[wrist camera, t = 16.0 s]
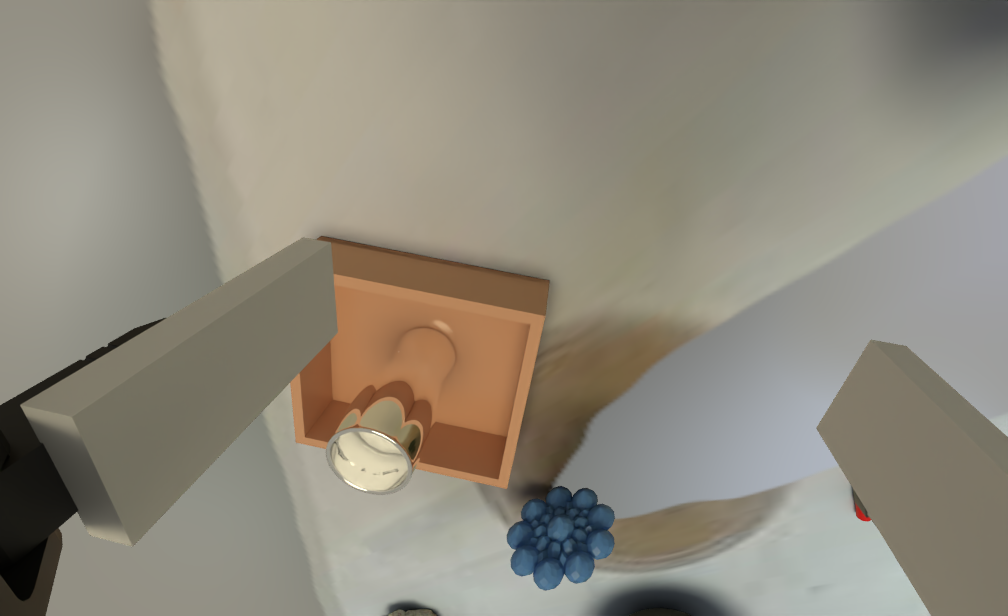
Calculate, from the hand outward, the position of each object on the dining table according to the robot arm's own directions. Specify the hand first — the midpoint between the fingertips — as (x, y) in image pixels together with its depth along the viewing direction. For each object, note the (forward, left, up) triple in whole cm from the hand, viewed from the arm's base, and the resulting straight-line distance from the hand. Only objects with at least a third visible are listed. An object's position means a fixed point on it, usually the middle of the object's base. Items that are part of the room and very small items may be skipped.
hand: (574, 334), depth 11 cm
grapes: (-7, +38, -29) cm, 48 cm away
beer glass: (+10, +21, -28) cm, 36 cm away
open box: (+11, +21, -29) cm, 37 cm away
